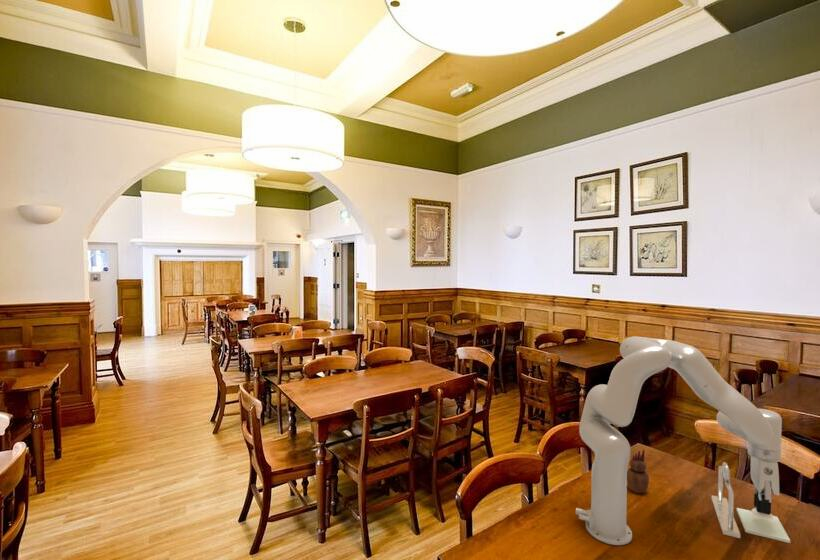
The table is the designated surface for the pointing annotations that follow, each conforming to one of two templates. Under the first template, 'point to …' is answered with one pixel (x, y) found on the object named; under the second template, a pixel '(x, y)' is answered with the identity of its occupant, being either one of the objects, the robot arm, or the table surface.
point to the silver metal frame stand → (725, 504)
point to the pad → (762, 526)
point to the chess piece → (762, 514)
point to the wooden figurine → (638, 474)
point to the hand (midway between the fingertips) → (762, 509)
